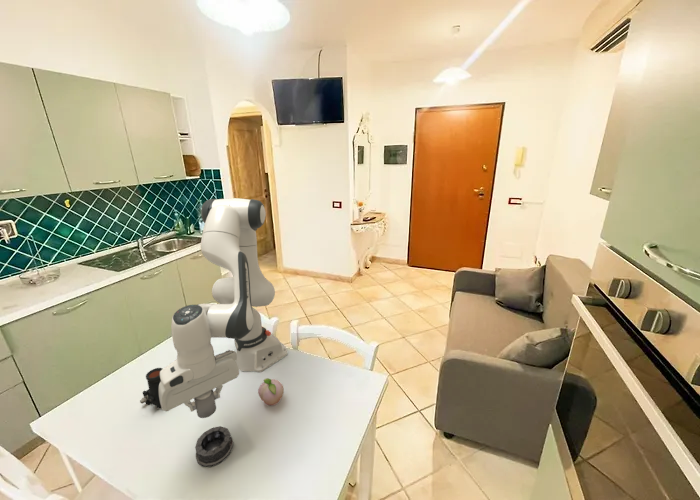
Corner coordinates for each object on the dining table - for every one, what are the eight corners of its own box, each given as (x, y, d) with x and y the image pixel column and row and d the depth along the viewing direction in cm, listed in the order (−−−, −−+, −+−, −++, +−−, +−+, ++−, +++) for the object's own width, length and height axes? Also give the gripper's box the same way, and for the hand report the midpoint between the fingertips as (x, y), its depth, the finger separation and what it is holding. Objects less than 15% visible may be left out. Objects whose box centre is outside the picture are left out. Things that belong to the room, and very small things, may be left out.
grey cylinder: (213, 401, 89) (209, 384, 87) (218, 411, 85) (215, 394, 83) (195, 410, 86) (191, 392, 84) (200, 421, 82) (196, 403, 80)
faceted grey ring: (226, 428, 98) (224, 419, 96) (238, 451, 90) (236, 441, 89) (192, 448, 91) (189, 438, 90) (202, 474, 84) (199, 464, 82)
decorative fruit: (289, 402, 108) (287, 380, 105) (270, 416, 102) (267, 393, 99) (275, 389, 114) (273, 368, 111) (256, 402, 108) (253, 379, 105)
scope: (153, 361, 109) (173, 367, 106) (161, 391, 113) (180, 398, 110) (131, 376, 102) (152, 383, 98) (140, 407, 106) (160, 415, 103)
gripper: (231, 342, 89) (237, 379, 94) (152, 374, 77) (163, 415, 81) (239, 352, 85) (244, 391, 89) (156, 388, 72) (167, 431, 76)
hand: (205, 403), depth 85 cm, fingers closed on grey cylinder, 5 cm apart
